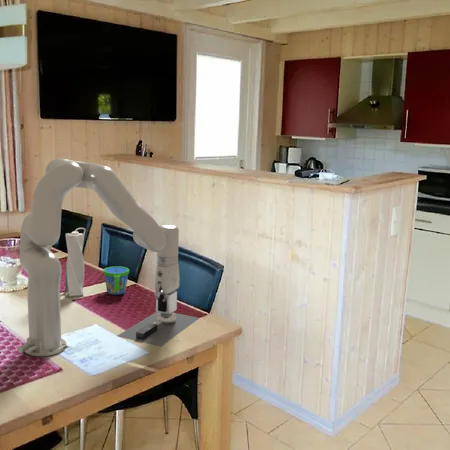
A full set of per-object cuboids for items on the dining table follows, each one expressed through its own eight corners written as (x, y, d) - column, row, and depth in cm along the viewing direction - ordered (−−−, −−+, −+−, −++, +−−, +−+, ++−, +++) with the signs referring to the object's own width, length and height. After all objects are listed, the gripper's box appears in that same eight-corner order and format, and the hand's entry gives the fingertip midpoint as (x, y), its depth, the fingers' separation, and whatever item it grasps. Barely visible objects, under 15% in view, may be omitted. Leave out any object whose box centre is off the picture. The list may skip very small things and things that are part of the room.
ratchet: (148, 341, 169) (149, 321, 167) (130, 337, 171) (130, 317, 170) (179, 320, 188) (179, 302, 186) (162, 316, 190) (163, 298, 189)
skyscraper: (85, 290, 218) (84, 225, 212) (87, 296, 210) (86, 229, 205) (64, 292, 215) (63, 226, 209) (65, 298, 207) (64, 230, 202)
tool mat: (160, 348, 165) (160, 346, 165) (116, 338, 172) (116, 335, 172) (199, 319, 191) (199, 317, 191) (159, 311, 197) (159, 309, 197)
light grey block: (169, 314, 182) (169, 295, 180) (155, 311, 184) (156, 292, 182) (176, 309, 186) (177, 291, 185) (163, 306, 188) (164, 288, 187)
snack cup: (128, 299, 210) (128, 275, 208) (101, 299, 208) (101, 275, 206) (129, 286, 225) (130, 264, 223) (105, 286, 223) (105, 264, 221)
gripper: (164, 267, 172) (163, 318, 176) (188, 256, 188) (186, 303, 191) (145, 263, 175) (144, 314, 179) (170, 253, 191) (168, 299, 194)
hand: (166, 308), depth 185 cm, fingers closed on light grey block, 5 cm apart
